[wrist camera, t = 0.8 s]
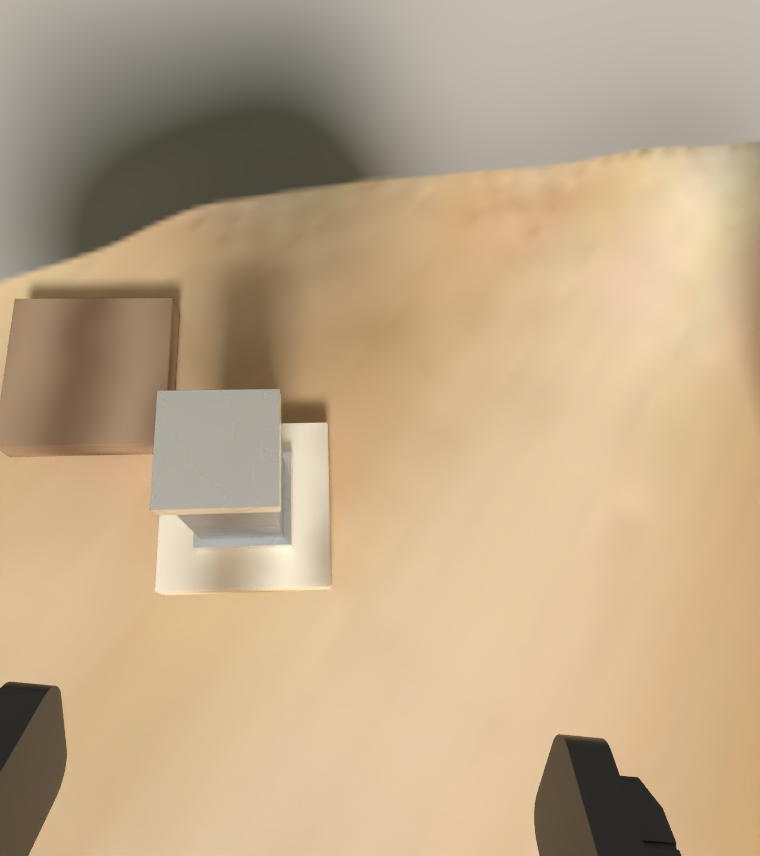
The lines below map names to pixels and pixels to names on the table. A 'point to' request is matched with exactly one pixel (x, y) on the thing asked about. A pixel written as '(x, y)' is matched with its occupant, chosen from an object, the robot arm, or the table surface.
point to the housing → (223, 467)
